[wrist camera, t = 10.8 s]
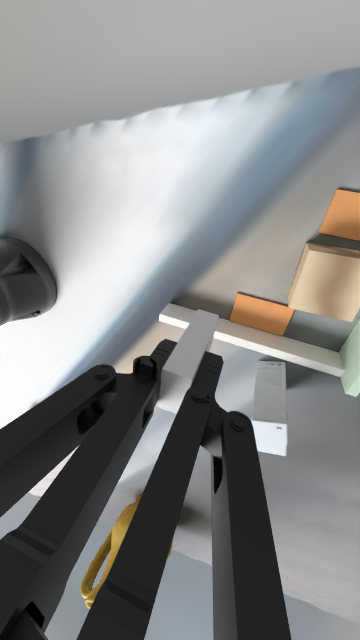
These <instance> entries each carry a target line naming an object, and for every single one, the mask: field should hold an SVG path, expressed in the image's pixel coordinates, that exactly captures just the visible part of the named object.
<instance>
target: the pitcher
mask: <svg viewBox="0 0 360 640" xmlns="http://www.w3.org/2000/svg"><path fill="white" fill-rule="evenodd" d="M141 497H142V495H139V496H138V497H137V499H136V502H134V503H133V504H130V505H128V506H127V507H126V508H125V509H124V510H123V512H122V513H121V515H120V516H119V517H118V519H117V520H116V523H115V525H114V526H113V528H112V529H111V530H110V532H109V534H108V536H107V539H106V540H105V542H104V543H103V545H102V546H101V547H100V549H99V551H98V553H97V555H96V556H95V558H94V560H93V561H92V563H91V565H90V567H89V569H88V572H87V573H86V575H85V577H84V579H83V581H82V584H81V594H82V597H84V598H85V599H86V600H85V603H86V606H87V607H88V608H89V609H90V608H91V606H92V603H93V601H94V599H95V597H96V595H97V593H98V591H99V589H100V587H101V585H102V584H103V582H104V581H105V579H106V577H107V575H108V573H109V571H110V569H111V567H112V564H113V562H114V560H115V557H116V555H117V553H118V550H119V548H120V546H121V543H122V541H123V539H124V536H125V534H126V532H127V529H128V527H129V525H130V522H131V520H132V518H133V515H134V513H135V511H136V508H137V506H138V504H139V501H140V499H141ZM171 548H172V543H171V547H170V550H169V553H168V557H169V555H170V552H171ZM110 550H111V552H110V556H109V559H108V563H107V566H106V569H105V571H104V574H103V576H102V579H101V581H100V583H99V584H98V585H97V586H96V587H95V588H93V589H92V585H93V583H94V580H95V578H96V576H97V573H98V571H99V570H100V568H101V566H102V564H103V562H104V560H105V558H106V556H107V555H108V553H109V551H110ZM168 557H167V559H168Z"/></svg>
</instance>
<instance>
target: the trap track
mask: <svg viewBox="0 0 360 640" xmlns="http://www.w3.org/2000/svg"><path fill="white" fill-rule="evenodd" d="M196 312H197V311H195V310H192V309H188V308H185V307H181V306H178V305H175V304H171V303H169V304H168V305H167V306H166V307H165V308H164V310H163V311H162V312H161V313H160V315H159V321H162V322H165V323H168V324H171V325H174V326H178V327H181V328H184V329H186V328H187V327H188V325H189V323H190V322H191V320H192V318H193V317H194V315H195V313H196ZM213 338H216V339H219V340H222V341H226V342H229V343H232V344H235V345H239V346H242V347H245V348H248V349H251V350H255V351H258V352H261V353H264V354H267V355H271V356H274V357H277V358H280V359H283V360H287V361H290V362H293V363H296V364H299V365H303V366H306V367H309V368H312V369H315V370H319V371H322V372H325V373H328V374H332V375H335V376H338V377H340V378H341V381H342V384H343V388H344V391H345V394H348V395H351V396H355V397H357V395H358V394H359V393H360V319H359V320H358V322H357V324H356V325H355V327H354V328H353V330H352V332H351V333H350V335H349V336H348V338H347V340H346V341H345V343H344V344H343V346H342V348H341V349H340V351H339V352H335V351H331V350H328V349H325V348H321V347H318V346H314V345H311V344H307V343H304V342H301V341H297V340H294V339H290V338H287V337H284V336H280V335H277V334H273V333H270V332H267V331H263V330H260V329H256V328H253V327H250V326H246V325H243V324H239V323H236V322H232V321H229V320H226V319H222V318H219V317H218V321H217V325H216V329H215V332H214V336H213Z"/></svg>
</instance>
